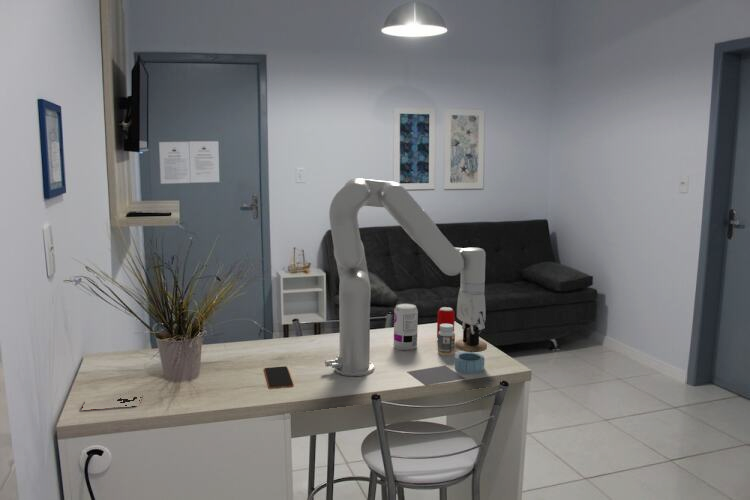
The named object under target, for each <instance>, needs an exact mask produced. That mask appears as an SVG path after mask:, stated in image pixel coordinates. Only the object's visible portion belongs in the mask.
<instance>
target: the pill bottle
mask: <svg viewBox="0 0 750 500" xmlns="http://www.w3.org/2000/svg"><path fill="white" fill-rule="evenodd" d="M453 327H454V328H455V325H454V326H453V325H452V324H440V331H439V332H438V338H437V352H438V354H440V355H442V356H451V355H453V354H455V348H456V347H455V342H456V340H455V339H456V332H455V330H454V331H453Z"/></svg>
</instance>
